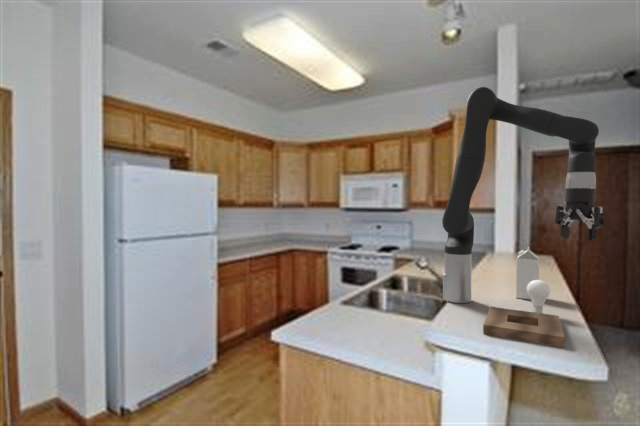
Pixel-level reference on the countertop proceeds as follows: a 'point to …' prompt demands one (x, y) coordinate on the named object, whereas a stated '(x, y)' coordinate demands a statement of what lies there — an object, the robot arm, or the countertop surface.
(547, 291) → the lightbulb
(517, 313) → the holder block
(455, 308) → the countertop surface
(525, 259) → the milk carton
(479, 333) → the countertop surface
